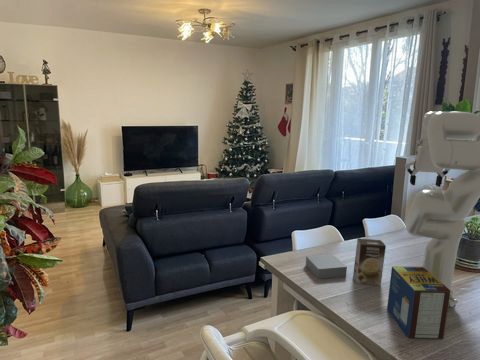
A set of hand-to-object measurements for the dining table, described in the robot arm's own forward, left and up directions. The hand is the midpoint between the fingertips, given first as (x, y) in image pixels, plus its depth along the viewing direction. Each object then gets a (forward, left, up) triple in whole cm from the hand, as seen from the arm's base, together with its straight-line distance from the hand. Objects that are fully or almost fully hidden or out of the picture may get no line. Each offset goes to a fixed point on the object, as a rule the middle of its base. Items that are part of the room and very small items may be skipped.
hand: (425, 185), depth 143 cm
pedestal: (+1, +41, -35) cm, 54 cm away
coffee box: (-10, +29, -35) cm, 47 cm away
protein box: (-37, +30, -35) cm, 59 cm away
